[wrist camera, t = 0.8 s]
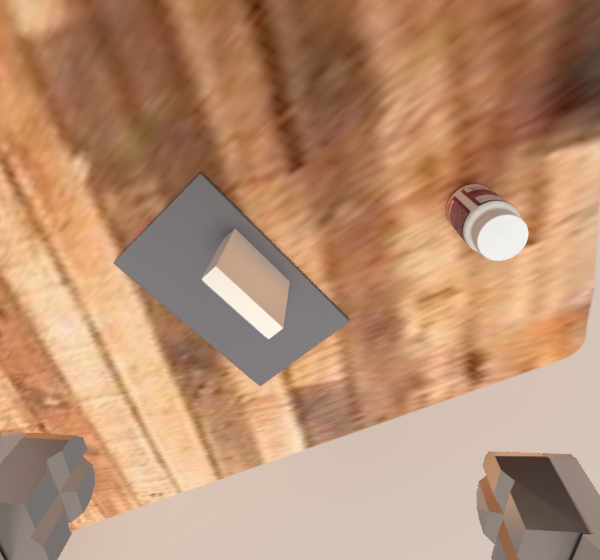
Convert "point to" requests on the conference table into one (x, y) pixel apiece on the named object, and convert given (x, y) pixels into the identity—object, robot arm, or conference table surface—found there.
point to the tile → (249, 284)
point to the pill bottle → (487, 222)
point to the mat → (205, 302)
